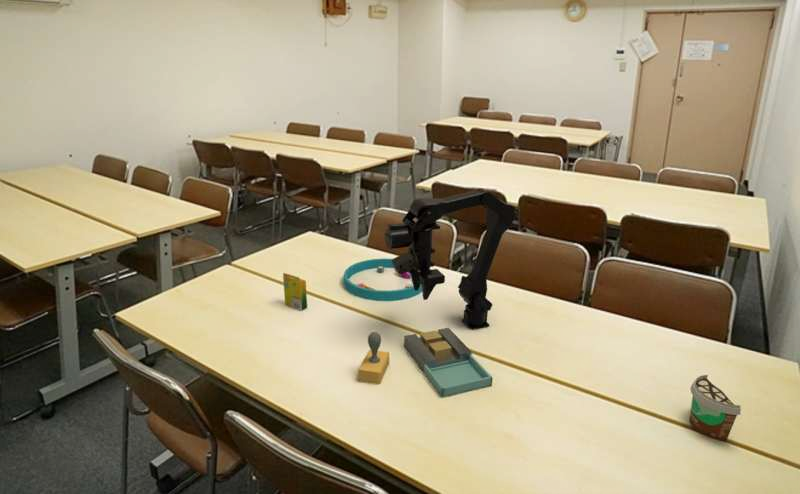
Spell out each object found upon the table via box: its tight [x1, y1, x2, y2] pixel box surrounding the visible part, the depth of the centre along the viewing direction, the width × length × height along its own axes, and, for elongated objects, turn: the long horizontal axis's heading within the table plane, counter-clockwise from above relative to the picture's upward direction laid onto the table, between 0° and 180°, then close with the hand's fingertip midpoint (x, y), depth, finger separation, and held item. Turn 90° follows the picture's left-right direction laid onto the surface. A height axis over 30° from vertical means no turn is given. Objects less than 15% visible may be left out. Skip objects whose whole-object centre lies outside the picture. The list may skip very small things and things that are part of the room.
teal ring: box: [343, 258, 422, 302], centre depth 190 cm, size 30×30×6 cm
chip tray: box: [423, 355, 493, 399], centre depth 135 cm, size 14×11×2 cm
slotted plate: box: [403, 327, 473, 374], centre depth 146 cm, size 14×14×4 cm
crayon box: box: [282, 272, 308, 312], centre depth 170 cm, size 7×3×12 cm, turn 58°
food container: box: [688, 374, 742, 441], centre depth 119 cm, size 12×6×10 cm, turn 5°
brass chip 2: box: [429, 341, 452, 357], centre depth 144 cm, size 5×4×2 cm
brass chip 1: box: [419, 330, 442, 346], centre depth 149 cm, size 5×4×2 cm
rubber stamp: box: [357, 331, 390, 385], centre depth 136 cm, size 10×6×12 cm, turn 167°
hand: (420, 294), depth 153 cm, fingers open, 6 cm apart
